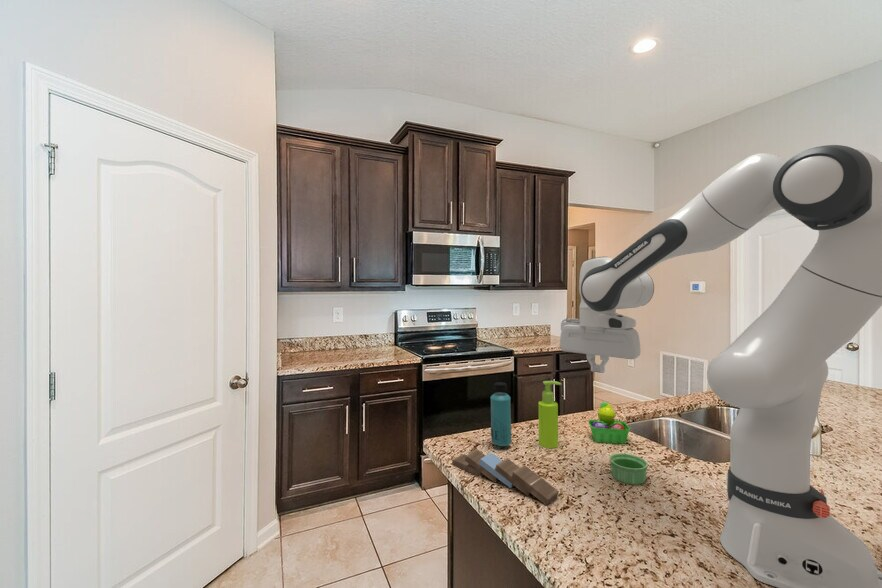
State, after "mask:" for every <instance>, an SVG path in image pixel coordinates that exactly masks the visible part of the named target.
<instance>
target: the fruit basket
mask: <svg viewBox="0 0 882 588" xmlns="http://www.w3.org/2000/svg"><path fill="white" fill-rule="evenodd" d="M616 416H617V414H616V412H615V410H614V409H613V407H612V405H611V404H610V403H608V402H606V401H603V402H601V404H600V406H599V409H598V412H597V417H598V419H589V420H587V421H588V424H589V428H590V430H591V435H592V438H593V440H594V441H595V442H594V443H609V444H622V445H626V444H627V440H628V436H629V433H630V430H631V428H630V427H629V425H628V424H627V423H626V422H625V421H622V420H614V419H615V418H616Z"/></svg>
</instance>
